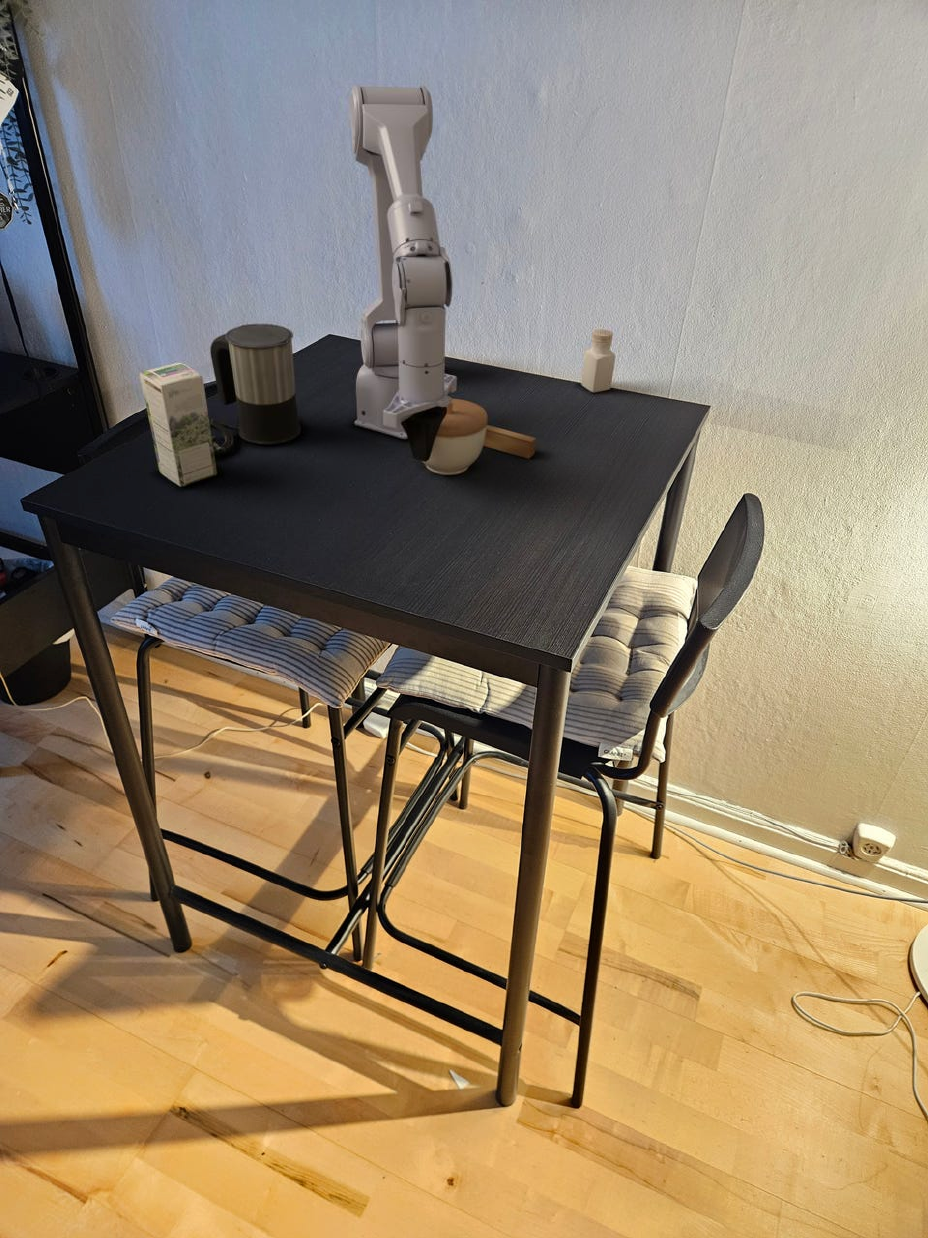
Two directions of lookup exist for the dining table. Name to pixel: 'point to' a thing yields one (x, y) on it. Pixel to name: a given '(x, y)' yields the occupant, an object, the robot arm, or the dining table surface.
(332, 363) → the dining table surface
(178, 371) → the syrup box
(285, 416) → the milk frother
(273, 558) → the dining table surface
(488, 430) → the rail
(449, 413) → the trinket box
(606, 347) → the pepper shaker
